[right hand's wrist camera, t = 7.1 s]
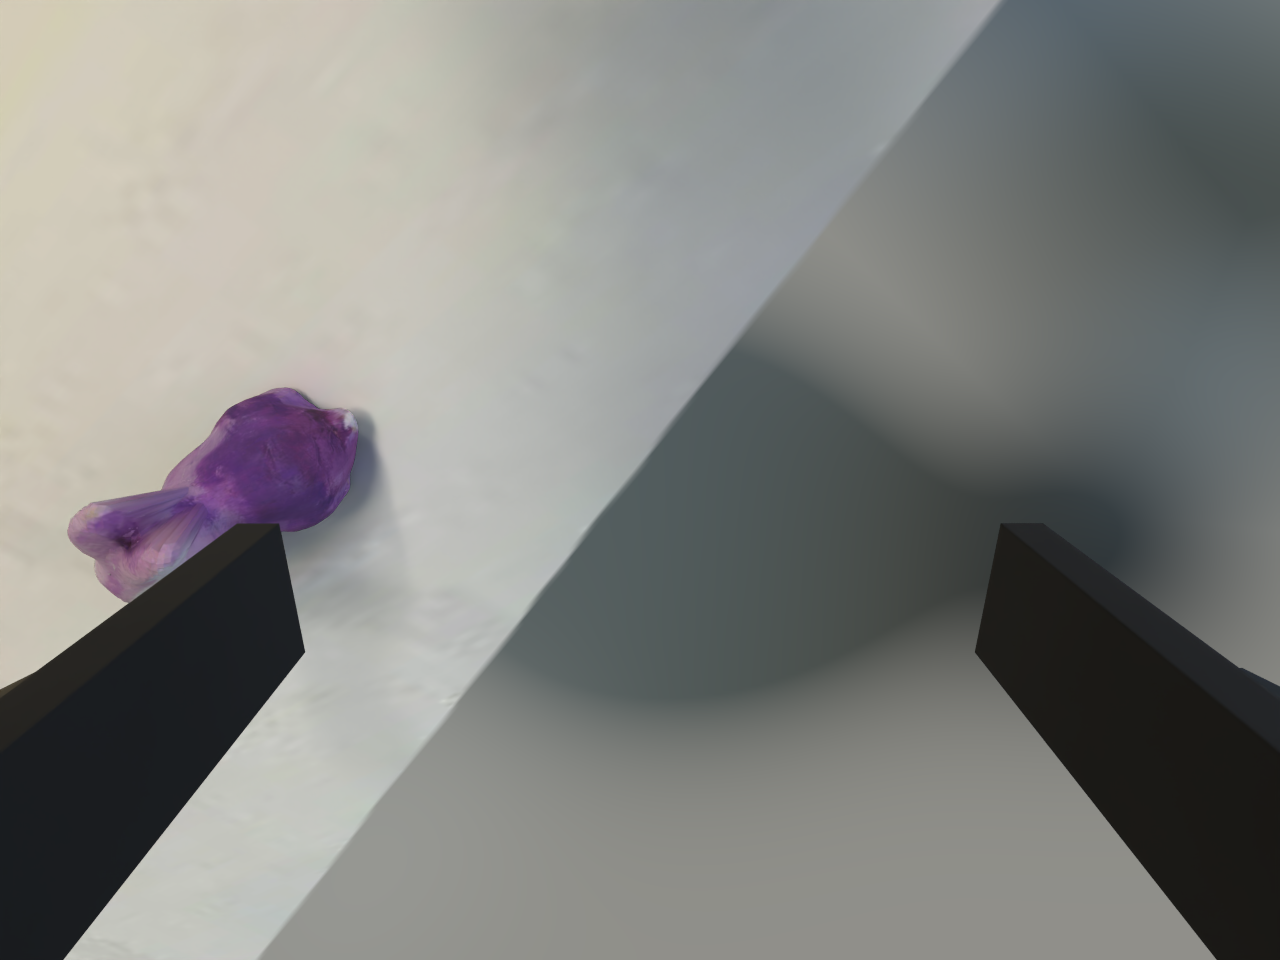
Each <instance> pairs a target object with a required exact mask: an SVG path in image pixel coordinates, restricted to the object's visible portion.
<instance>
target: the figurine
mask: <svg viewBox="0 0 1280 960" xmlns="http://www.w3.org/2000/svg"><path fill="white" fill-rule="evenodd" d="M357 440H358V425H357V422H356V419H355V417H354V415H353V414H352V413H351V412H350V411H349V410H347V409H344V408H337V409H319V408H317V407H315V406H314V405H313V404H311V403H309V402H308V401H307V400H305V399H304V398H303V397H302V396H301V395H300V394H299V393H298V392H296V391H295V390H293V389H290V388H276V389H272V390H269V391H267V392H265V393H263V394H260V395H258V396H255V397H252V398H249V399H247V400H244V401H242V402H240V403H238V404H236V405H234V406H232V407H231V408H229V409H228V410H227V411H226V412H225V413H224V414H223V416H222V417H221V418H220V419H219V421H218V422H217V423H216V425H215V427H214V429H213V431H212V432H211V434H210V436H209V437H208V438H207V439H206V440H205V441H204V442H203V443H202V444H201V445H200V446H199V447H197V448H196V449H195V450H194V451H192V452H191V453H190V454H189V455H187V456H186V457H185V458H184V459H183V460H182V461H181V462H180V463H179V464H178V465H177V466H176V467H175V468H174V469H173V470H172V471H171V472H170V473H169V475H168V476H167V478H166V480H165V482H164V484H163V487H162V489H161V491H156V492H150V493H144V494H139V495H133V496H127V497H122V498H116V499H110V500H105V501H99V502H93V503H90V504H89V505H88V506H85V507H83V508H82V510H79V511H78V512H77V513H76V515H75V516H74V517H72V518H71V520H70V523H69V527H68V530H67V531H68V537H69V539H70V541H71V542H72V543H73V544H74V545H75V547H77V548H78V549H79V550H80V551H82V552H83V553H84V554H86V555H88V556H90V557H92V558H94V559H95V563H94V570H95V574H96V576H97V578H98V580H99V582H100V583H101V584H102V585H104V586H105V587H106V588H107V589H108V590H109V591H110V592H111V593H113V594H114V595H115V596H117V597H118V598H120V599H121V600H122V601H124V602H128V603H130V602H131V601H133V600H134V599H135V598H137V597H138V596H139V595H141V594H142V593H143V592H145V591H146V590H147V589H149V588H150V587H152V586H153V585H154V584H156V583H157V582H158V581H160V580H161V579H162V578H164V577H165V576H166V575H168V574H169V573H171V572H172V571H173V570H175V569H176V568H177V567H179V566H180V565H181V564H183V563H184V562H185V561H187V560H188V559H190V558H191V557H192V556H194V555H195V554H196V553H198V552H199V551H200V550H202V549H203V548H204V547H206V546H207V545H209V544H210V543H211V542H213V541H214V540H215V539H217V538H218V537H219V536H221V535H222V534H223V533H225V532H226V531H228V530H229V529H230V528H232V527H233V526H234V525H236V524H237V523H279V525H280V530H281V532H283V531H287V532H295V531H299V530H302V529H306V528H309V527H312V526H314V525H316V524H318V523H319V522H321V521H322V520H324V519H325V518H327V517H328V516H329V515H330V514H331V513H333V512H334V510H335V509H336V508H337V506H338V505H339V503H340V502H341V501H342V499H343V498H344V497H345V495H346V494H347V493H348V491H349V488H350V472H351V469H352V467H353V463H354V460H355V454H356V446H357Z"/></svg>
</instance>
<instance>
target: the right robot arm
mask: <svg viewBox="0 0 1280 960" xmlns="http://www.w3.org/2000/svg"><path fill="white" fill-rule="evenodd" d="M304 653H305V649H304V644H303V639H302V634H301V629H300V624H299V619H298V614H297V609H296V604H295V599H294V594H293V589H292V584H291V580H290V575H289V570H288V565H287V560H286V555H285V550H284V545H283V540H282V535H281V530H280V525H279V523H237V524H236V525H234V526H233V527H232V528H230V529H229V530H228V531H226V532H225V533H223V534H222V535H221V536H219V537H218V538H217V539H215V540H214V541H213V542H211V543H210V544H209V545H207V546H206V547H204V548H203V549H202V550H200V551H199V552H198V553H196V554H195V555H194V556H192V557H191V558H190V559H188V560H187V561H185V562H184V563H183V564H181V565H180V566H179V567H177V568H176V569H175V570H173V571H172V572H171V573H169V574H168V575H166V576H165V577H164V578H162V579H161V580H160V581H158V582H157V583H156V584H154V585H153V586H152V587H150V588H149V589H147V590H146V591H145V592H143V593H142V594H141V595H139V596H138V597H137V598H135V599H134V600H133V601H131V602H130V603H129V604H127V605H126V606H124V607H123V608H122V609H120V610H119V611H118V612H116V613H115V614H114V615H112V616H111V617H110V618H108V619H107V620H105V621H104V622H103V623H101V624H100V625H99V626H97V627H96V628H95V629H93V630H92V631H91V632H89V633H88V634H86V635H85V636H84V637H82V638H81V639H80V640H78V641H77V642H76V643H74V644H73V645H72V646H70V647H69V648H67V649H66V650H65V651H63V652H62V653H61V654H59V655H58V656H57V657H55V658H54V659H53V660H51V661H50V662H48V663H47V664H46V665H44V666H43V667H42V668H40V669H39V670H38V671H36V672H35V673H33V674H31V675H29V676H27V677H25V678H23V679H21V680H19V681H17V682H15V683H12V684H10V685H8V686H6V687H4V688H2V689H0V960H63V959H64V958H65V957H66V956H67V954H68V953H69V952H70V951H71V949H72V948H73V947H74V945H75V944H76V943H77V942H78V940H79V939H80V938H81V937H82V935H83V934H84V933H85V931H86V930H87V929H88V928H89V926H90V925H91V924H92V923H93V921H94V920H95V919H96V917H97V916H98V915H99V914H100V912H101V911H102V910H103V909H104V907H105V906H106V905H107V903H108V902H109V901H110V900H111V898H112V897H113V896H114V895H115V893H116V892H117V891H118V889H119V888H120V887H121V886H122V884H123V883H124V882H125V881H126V879H127V878H128V877H129V875H130V874H131V873H132V872H133V870H134V869H135V868H136V867H137V865H138V864H139V863H140V862H141V860H142V859H143V858H144V856H145V855H146V854H147V853H148V851H149V850H150V849H151V848H152V846H153V845H154V844H155V842H156V841H157V840H158V839H159V837H160V836H161V835H162V834H163V832H164V831H165V830H166V828H167V827H168V826H169V825H170V823H171V822H172V821H173V820H174V818H175V817H176V816H177V814H178V813H179V812H180V811H181V809H182V808H183V807H184V806H185V804H186V803H187V802H188V800H189V799H190V798H191V797H192V795H193V794H194V793H195V792H196V790H197V789H198V788H199V786H200V785H201V784H202V783H203V781H204V780H205V779H206V778H207V776H208V775H209V774H210V773H211V771H212V770H213V769H214V767H215V766H216V765H217V764H218V762H219V761H220V760H221V759H222V757H223V756H224V755H225V753H226V752H227V751H228V750H229V748H230V747H231V746H232V745H233V743H234V742H235V741H236V739H237V738H238V737H239V736H240V734H241V733H242V732H243V731H244V729H245V728H246V727H247V725H248V724H249V723H250V722H251V720H252V719H253V718H254V717H255V715H256V714H257V713H258V711H259V710H260V709H261V708H262V706H263V705H264V704H265V703H266V701H267V700H268V699H269V697H270V696H271V695H272V694H273V692H274V691H275V690H276V689H277V687H278V686H279V685H280V683H281V682H282V681H283V680H284V678H285V677H286V676H287V675H288V673H289V672H290V671H291V670H292V668H293V667H294V666H295V664H296V663H297V662H298V661H299V659H300V658H301V657H302V656H303V654H304ZM975 653H976V654H977V655H978V657H979V658H980V659H981V661H982V662H983V663H984V664H985V666H986V667H987V668H988V669H989V671H990V672H991V673H992V675H993V676H994V677H995V678H996V680H997V681H998V682H999V683H1000V685H1001V686H1002V687H1003V689H1004V690H1005V691H1006V692H1007V694H1008V695H1009V696H1010V697H1011V699H1012V700H1013V701H1014V703H1015V704H1016V705H1017V706H1018V708H1019V709H1020V710H1021V711H1022V713H1023V714H1024V715H1025V717H1026V718H1027V719H1028V720H1029V722H1030V723H1031V724H1032V725H1033V727H1034V728H1035V729H1036V731H1037V732H1038V733H1039V734H1040V736H1041V737H1042V738H1043V739H1044V741H1045V742H1046V743H1047V745H1048V746H1049V747H1050V748H1051V750H1052V751H1053V752H1054V753H1055V755H1056V756H1057V757H1058V758H1059V760H1060V761H1061V762H1062V764H1063V765H1064V766H1065V767H1066V769H1067V770H1068V771H1069V773H1070V774H1071V775H1072V776H1073V777H1074V779H1075V780H1076V781H1077V783H1078V784H1079V785H1080V786H1081V788H1082V789H1083V790H1084V792H1085V793H1086V794H1087V795H1088V797H1089V798H1090V799H1091V800H1092V802H1093V803H1094V804H1095V806H1096V807H1097V808H1098V809H1099V811H1100V812H1101V813H1102V814H1103V816H1104V817H1105V818H1106V820H1107V821H1108V822H1109V823H1110V825H1111V826H1112V827H1113V828H1114V830H1115V831H1116V832H1117V834H1118V835H1119V836H1120V837H1121V839H1122V840H1123V841H1124V842H1125V844H1126V845H1127V846H1128V848H1129V849H1130V850H1131V851H1132V853H1133V854H1134V855H1135V856H1136V858H1137V859H1138V860H1139V862H1140V863H1141V864H1142V865H1143V867H1144V868H1145V869H1146V870H1147V872H1148V873H1149V874H1150V875H1151V877H1152V878H1153V879H1154V881H1155V882H1156V883H1157V884H1158V886H1159V887H1160V888H1161V889H1162V891H1163V892H1164V893H1165V895H1166V896H1167V897H1168V898H1169V900H1170V901H1171V902H1172V903H1173V905H1174V906H1175V907H1176V909H1177V910H1178V911H1179V912H1180V914H1181V915H1182V916H1183V917H1184V919H1185V920H1186V921H1187V923H1188V924H1189V925H1190V926H1191V928H1192V929H1193V930H1194V931H1195V933H1196V934H1197V935H1198V937H1199V938H1200V939H1201V940H1202V942H1203V943H1204V944H1205V945H1206V947H1207V948H1208V949H1209V950H1210V952H1211V953H1212V954H1213V956H1214V957H1215V958H1216V959H1217V960H1280V686H1278V685H1276V684H1274V683H1272V682H1270V681H1268V680H1266V679H1264V678H1261V677H1259V676H1257V675H1255V674H1253V673H1251V672H1249V671H1247V670H1245V669H1243V668H1238V667H1237V666H1236V665H1234V664H1233V663H1231V662H1230V661H1229V660H1227V659H1226V658H1225V657H1223V656H1222V655H1221V654H1219V653H1218V652H1217V651H1215V650H1214V649H1212V648H1211V647H1210V646H1208V645H1207V644H1206V643H1204V642H1203V641H1202V640H1200V639H1199V638H1198V637H1196V636H1195V635H1194V634H1192V633H1191V632H1189V631H1188V630H1187V629H1185V628H1184V627H1183V626H1181V625H1180V624H1179V623H1177V622H1176V621H1175V620H1173V619H1172V618H1170V617H1169V616H1168V615H1166V614H1165V613H1164V612H1162V611H1161V610H1160V609H1158V608H1157V607H1156V606H1154V605H1153V604H1151V603H1150V602H1149V601H1147V600H1146V599H1145V598H1143V597H1142V596H1141V595H1139V594H1138V593H1137V592H1135V591H1134V590H1132V589H1131V588H1130V587H1128V586H1127V585H1126V584H1124V583H1123V582H1122V581H1120V580H1119V579H1118V578H1116V577H1115V576H1114V575H1112V574H1111V573H1109V572H1108V571H1107V570H1105V569H1104V568H1103V567H1101V566H1100V565H1099V564H1097V563H1096V562H1095V561H1093V560H1092V559H1090V558H1089V557H1088V556H1086V555H1085V554H1084V553H1082V552H1081V551H1080V550H1078V549H1077V548H1075V547H1074V546H1073V545H1071V544H1070V543H1069V542H1067V541H1066V540H1065V539H1063V538H1062V537H1061V536H1059V535H1058V534H1057V533H1055V532H1054V531H1052V530H1051V529H1050V528H1048V527H1047V526H1046V525H1044V524H1043V523H1001V525H1000V530H999V535H998V540H997V545H996V550H995V555H994V560H993V565H992V570H991V575H990V580H989V584H988V589H987V595H986V599H985V604H984V609H983V614H982V619H981V624H980V629H979V634H978V639H977V644H976V649H975Z"/></svg>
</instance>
